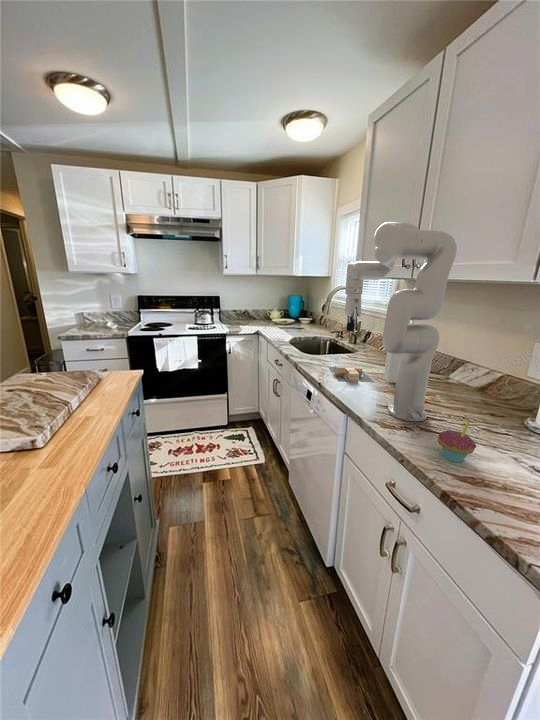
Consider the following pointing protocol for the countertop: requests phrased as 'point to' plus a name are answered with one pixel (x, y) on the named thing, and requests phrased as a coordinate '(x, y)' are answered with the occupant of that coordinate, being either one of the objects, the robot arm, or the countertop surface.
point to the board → (342, 379)
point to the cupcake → (456, 444)
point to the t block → (348, 372)
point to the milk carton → (392, 367)
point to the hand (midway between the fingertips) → (350, 330)
